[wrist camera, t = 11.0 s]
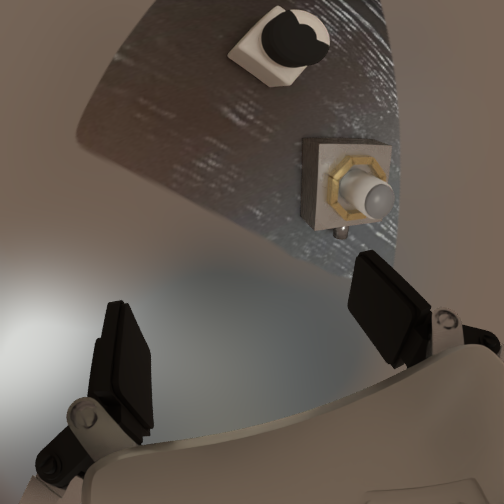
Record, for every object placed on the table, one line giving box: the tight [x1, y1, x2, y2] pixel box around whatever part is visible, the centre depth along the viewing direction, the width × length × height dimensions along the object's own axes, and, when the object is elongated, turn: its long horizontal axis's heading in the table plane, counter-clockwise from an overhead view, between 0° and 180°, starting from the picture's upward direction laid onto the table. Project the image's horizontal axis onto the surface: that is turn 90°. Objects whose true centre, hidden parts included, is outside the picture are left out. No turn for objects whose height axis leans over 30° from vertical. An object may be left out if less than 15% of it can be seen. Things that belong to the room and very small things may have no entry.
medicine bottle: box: [227, 6, 330, 87], centre depth 24 cm, size 7×7×12 cm
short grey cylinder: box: [340, 169, 395, 219], centre depth 34 cm, size 5×5×6 cm
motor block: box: [300, 138, 392, 239], centre depth 38 cm, size 15×12×6 cm
